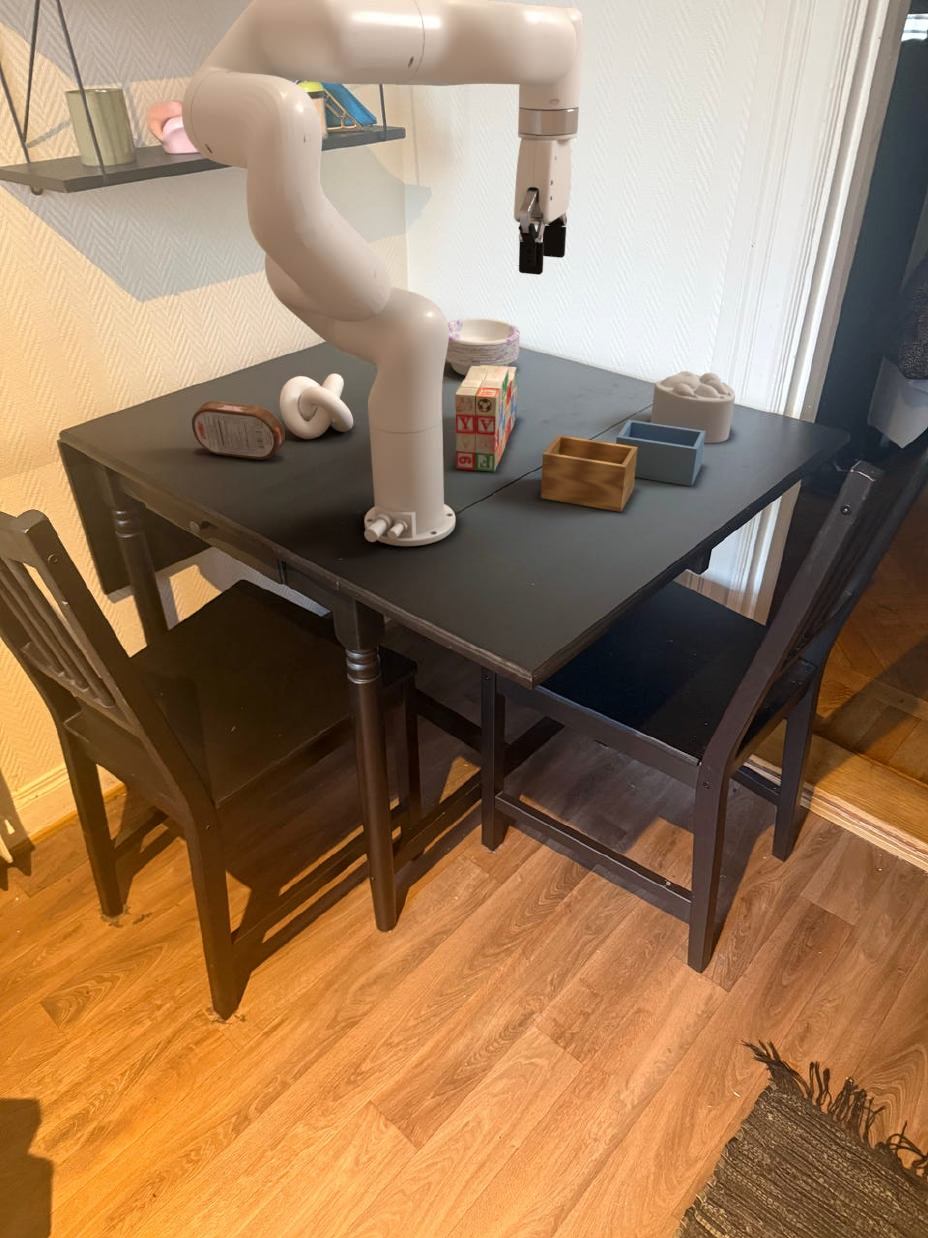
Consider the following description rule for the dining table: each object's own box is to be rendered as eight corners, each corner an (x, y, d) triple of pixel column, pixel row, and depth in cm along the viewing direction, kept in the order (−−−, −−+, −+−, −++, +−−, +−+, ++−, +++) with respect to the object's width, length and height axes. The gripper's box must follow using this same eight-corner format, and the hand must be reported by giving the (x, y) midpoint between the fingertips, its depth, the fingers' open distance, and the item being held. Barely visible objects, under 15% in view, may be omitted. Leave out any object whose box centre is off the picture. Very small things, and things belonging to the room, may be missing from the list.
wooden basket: (633, 490, 137) (637, 446, 133) (621, 512, 131) (625, 466, 128) (555, 477, 141) (557, 434, 137) (540, 497, 135) (542, 453, 131)
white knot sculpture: (298, 414, 162) (292, 364, 157) (365, 418, 160) (361, 367, 155) (278, 440, 153) (271, 388, 148) (348, 444, 151) (344, 392, 146)
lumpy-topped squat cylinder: (680, 410, 163) (686, 361, 158) (743, 431, 155) (752, 381, 150) (642, 425, 157) (647, 376, 152) (705, 449, 149) (713, 397, 144)
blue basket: (700, 467, 144) (706, 430, 140) (691, 486, 138) (697, 449, 135) (624, 455, 147) (628, 419, 144) (613, 473, 142) (616, 436, 138)
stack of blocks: (481, 416, 161) (481, 346, 154) (516, 419, 160) (518, 348, 153) (455, 469, 143) (454, 392, 136) (495, 472, 142) (496, 395, 135)
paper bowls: (528, 379, 176) (529, 337, 171) (450, 386, 173) (449, 344, 168) (506, 353, 188) (507, 314, 183) (433, 359, 185) (432, 319, 180)
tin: (288, 456, 148) (282, 406, 143) (280, 464, 145) (273, 413, 140) (203, 446, 151) (194, 396, 146) (193, 454, 149) (184, 404, 144)
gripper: (541, 114, 125) (536, 248, 134) (496, 130, 112) (494, 277, 121) (595, 116, 122) (586, 252, 132) (555, 133, 109) (548, 282, 119)
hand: (542, 264), depth 127 cm, fingers open, 9 cm apart
